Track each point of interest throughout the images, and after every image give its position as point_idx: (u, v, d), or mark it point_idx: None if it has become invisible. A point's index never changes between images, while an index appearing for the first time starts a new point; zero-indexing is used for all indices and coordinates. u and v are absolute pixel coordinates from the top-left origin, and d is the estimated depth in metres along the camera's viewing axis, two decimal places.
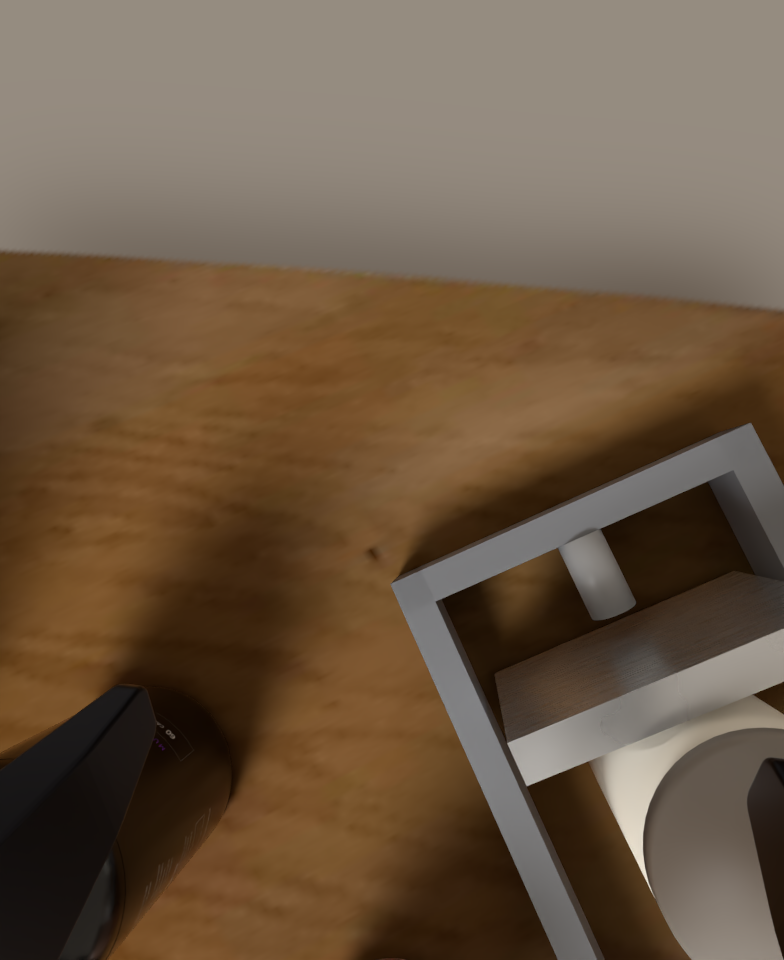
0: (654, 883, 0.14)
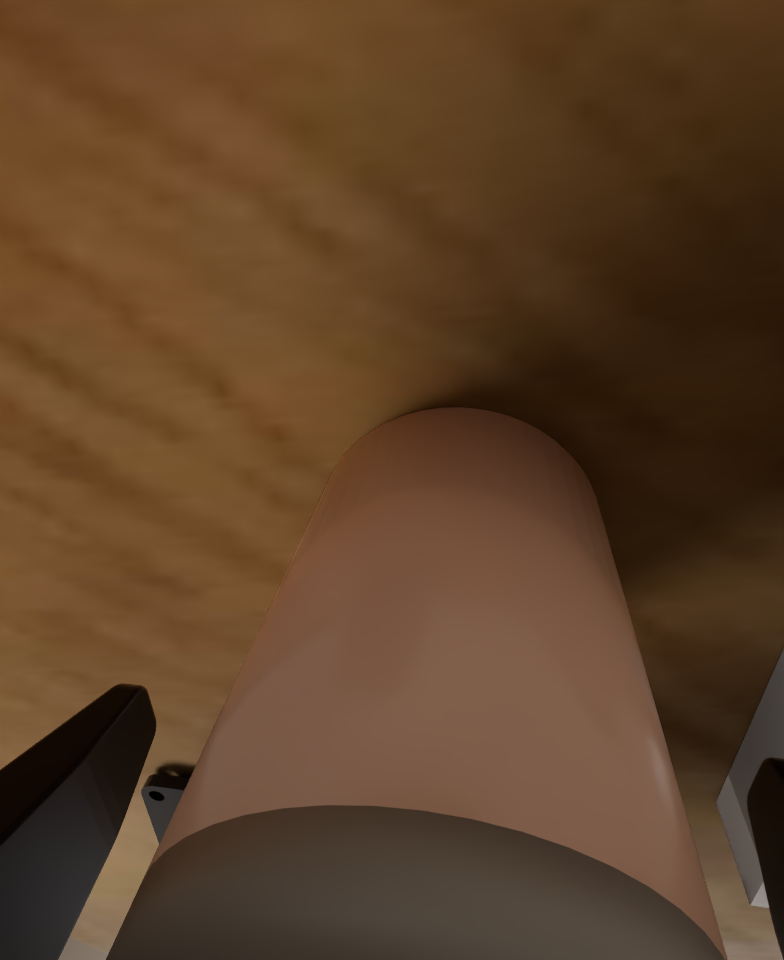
0: None
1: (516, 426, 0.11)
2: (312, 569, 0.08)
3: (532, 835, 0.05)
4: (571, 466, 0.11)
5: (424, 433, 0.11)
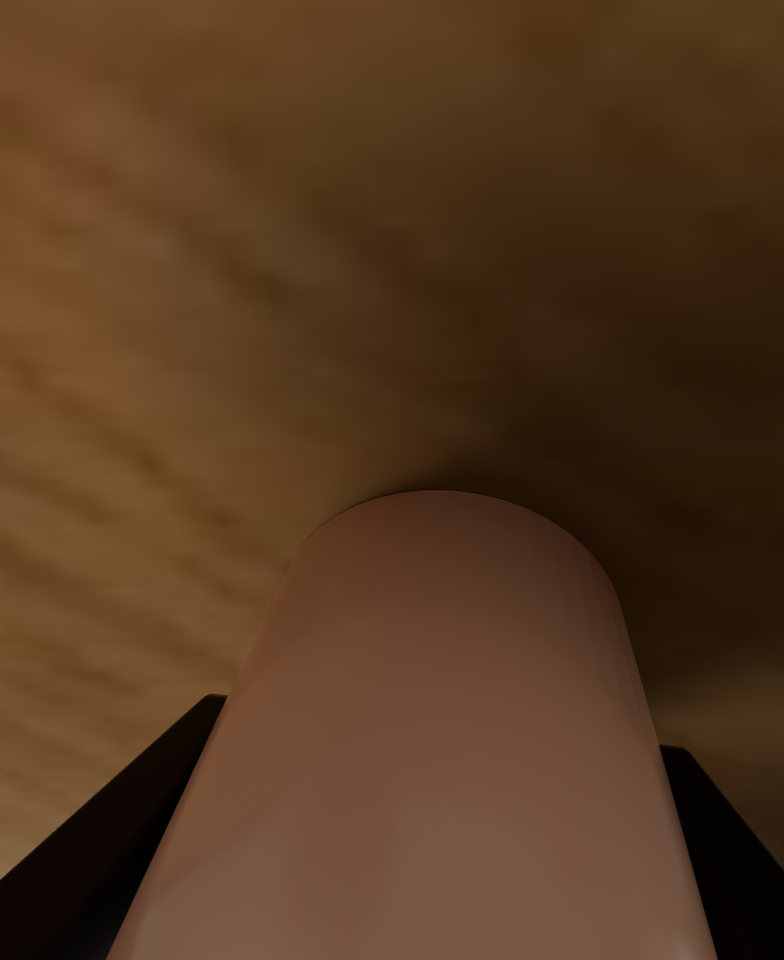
0: None
1: (519, 517, 0.09)
2: (232, 761, 0.06)
3: None
4: (589, 568, 0.09)
5: (400, 532, 0.08)
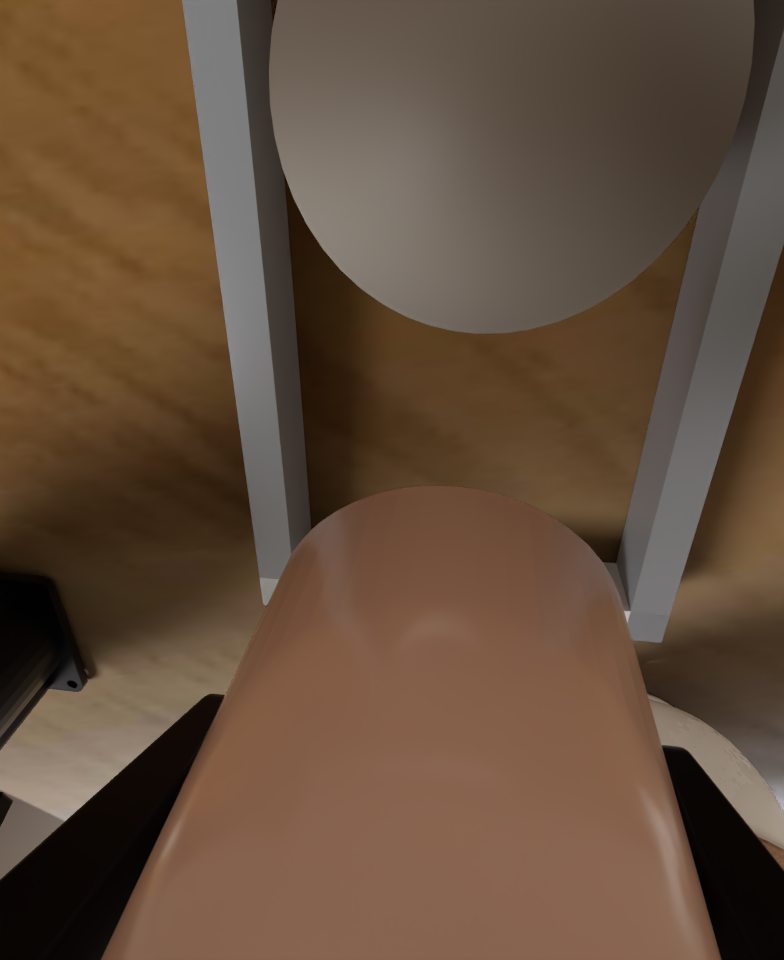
0: (273, 24, 0.08)
1: (519, 513, 0.09)
2: (231, 757, 0.06)
3: None
4: (589, 564, 0.09)
5: (399, 527, 0.08)
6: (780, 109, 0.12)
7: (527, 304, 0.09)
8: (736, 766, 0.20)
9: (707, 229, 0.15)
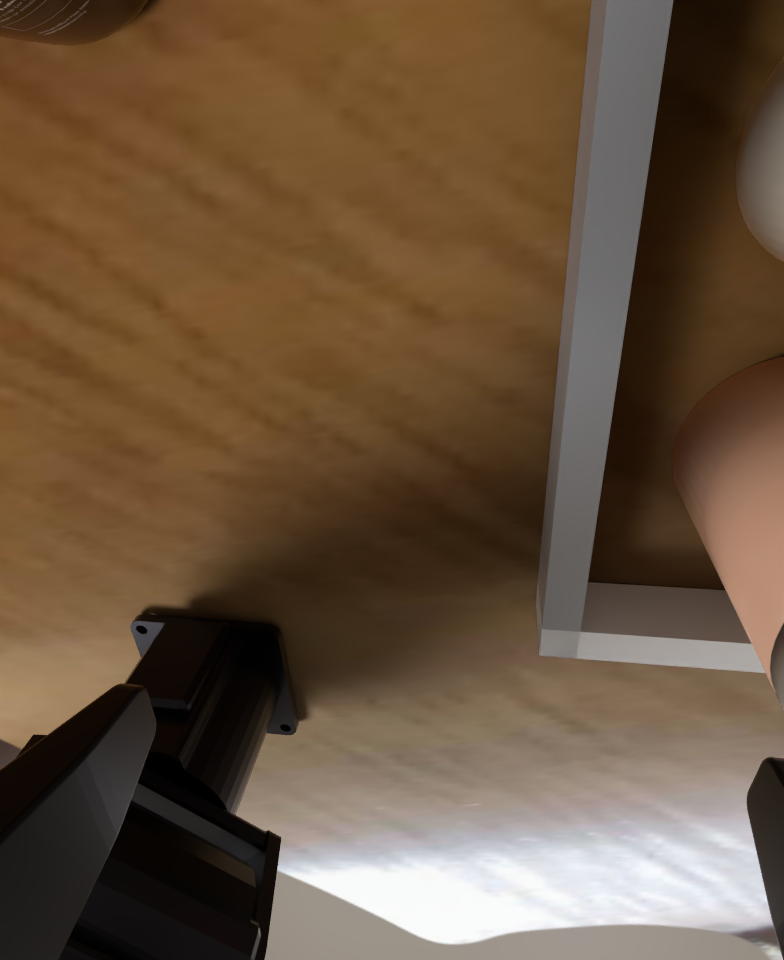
0: None
1: None
2: None
3: None
4: None
5: None
6: None
7: None
8: None
9: None
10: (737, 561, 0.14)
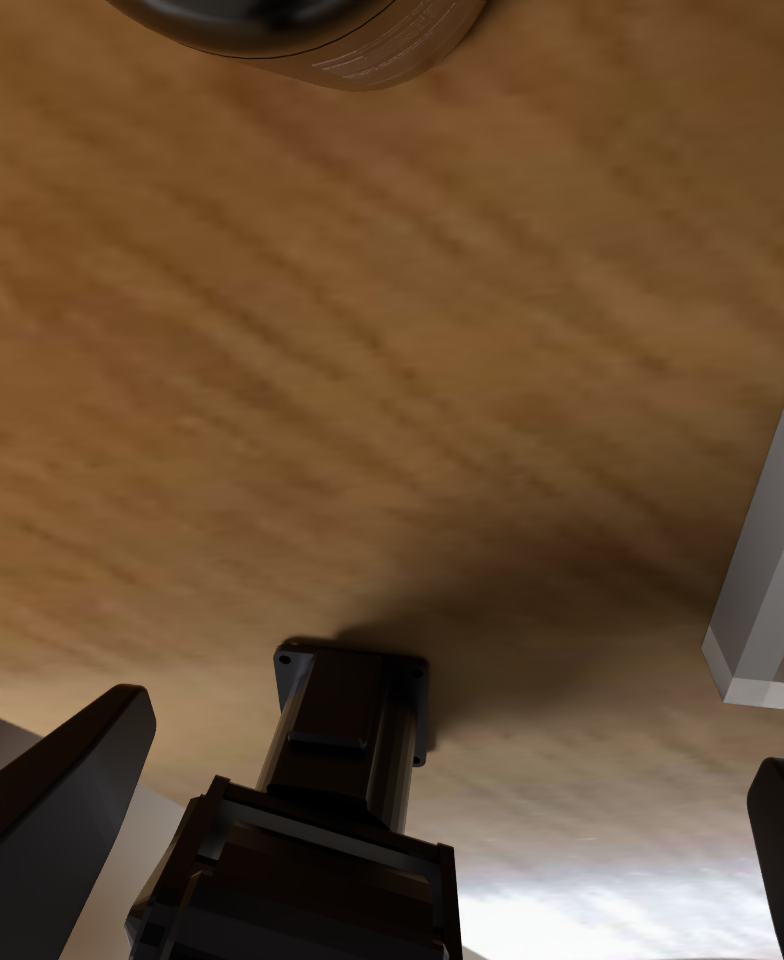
0: None
1: None
2: None
3: None
4: None
5: None
6: None
7: None
8: None
9: None
10: None
